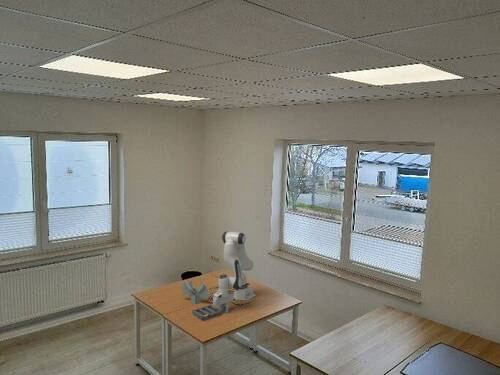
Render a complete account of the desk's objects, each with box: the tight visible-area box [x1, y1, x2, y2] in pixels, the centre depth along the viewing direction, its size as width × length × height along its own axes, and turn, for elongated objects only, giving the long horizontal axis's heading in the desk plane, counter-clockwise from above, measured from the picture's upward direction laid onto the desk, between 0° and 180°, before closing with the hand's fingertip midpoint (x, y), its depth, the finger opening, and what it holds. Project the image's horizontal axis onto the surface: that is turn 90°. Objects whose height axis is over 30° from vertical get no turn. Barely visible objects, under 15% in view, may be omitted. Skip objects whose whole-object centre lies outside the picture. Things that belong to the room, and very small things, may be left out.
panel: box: [218, 303, 229, 314], centre depth 344 cm, size 2×12×7 cm, turn 39°
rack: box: [192, 304, 222, 322], centre depth 337 cm, size 19×17×4 cm
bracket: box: [181, 280, 209, 305], centre depth 362 cm, size 28×7×20 cm, turn 67°
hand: (223, 308), depth 344 cm, fingers closed on panel, 2 cm apart
